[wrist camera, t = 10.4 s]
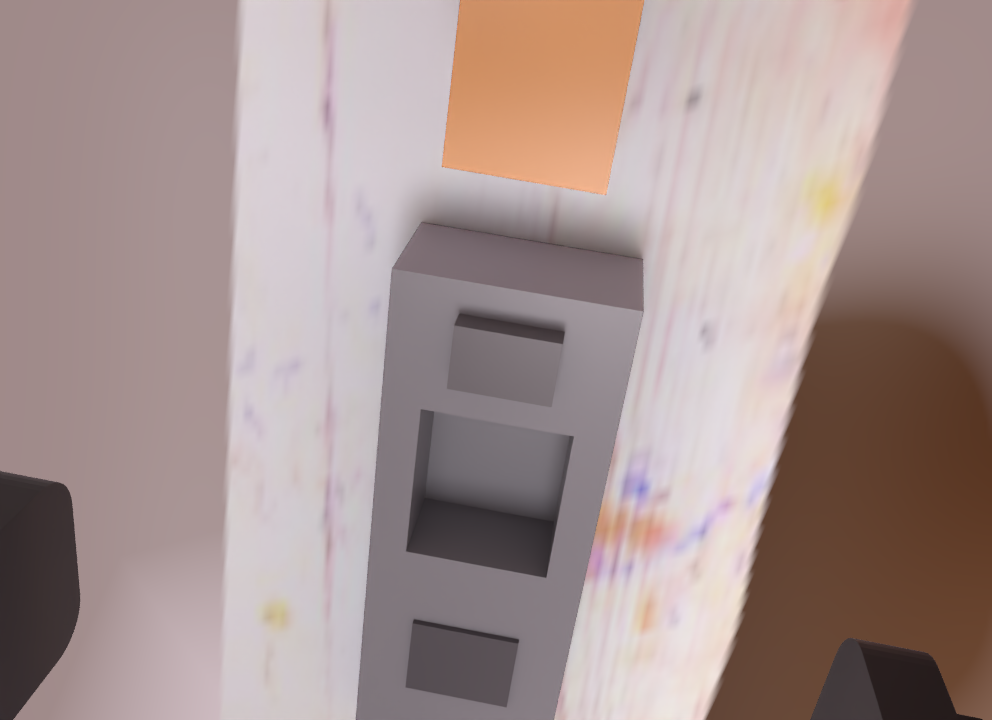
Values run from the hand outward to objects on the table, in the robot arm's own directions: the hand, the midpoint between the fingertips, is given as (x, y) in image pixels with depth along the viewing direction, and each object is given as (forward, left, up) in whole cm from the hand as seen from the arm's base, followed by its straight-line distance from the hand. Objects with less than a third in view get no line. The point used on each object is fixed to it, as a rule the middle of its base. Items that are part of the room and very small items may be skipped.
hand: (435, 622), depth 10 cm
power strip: (-14, -3, -20) cm, 25 cm away
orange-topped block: (+3, +1, -20) cm, 21 cm away
